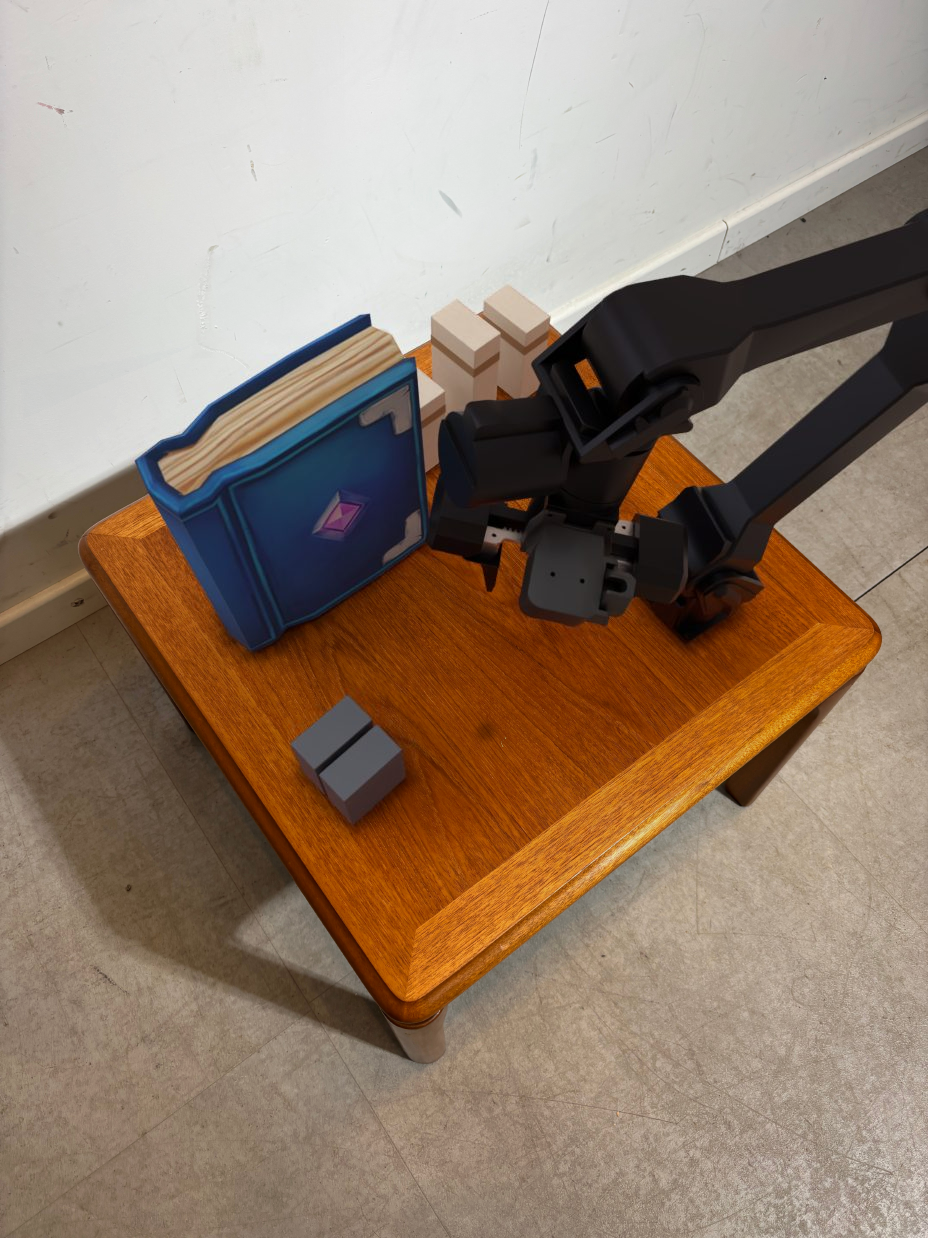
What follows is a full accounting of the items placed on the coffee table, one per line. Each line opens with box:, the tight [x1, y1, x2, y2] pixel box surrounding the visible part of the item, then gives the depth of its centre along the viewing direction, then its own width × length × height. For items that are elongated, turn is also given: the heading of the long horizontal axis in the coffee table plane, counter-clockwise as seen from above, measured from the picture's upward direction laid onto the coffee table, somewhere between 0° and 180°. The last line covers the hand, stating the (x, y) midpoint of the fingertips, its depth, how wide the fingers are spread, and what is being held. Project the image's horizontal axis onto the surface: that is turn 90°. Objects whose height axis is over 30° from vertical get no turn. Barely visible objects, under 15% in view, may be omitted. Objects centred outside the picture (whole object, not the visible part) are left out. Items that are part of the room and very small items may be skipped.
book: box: [134, 313, 430, 654], centre depth 74 cm, size 22×7×25 cm, turn 129°
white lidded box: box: [430, 298, 501, 418], centre depth 89 cm, size 6×3×12 cm, turn 44°
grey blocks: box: [289, 694, 407, 826], centre depth 73 cm, size 6×6×7 cm
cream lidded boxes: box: [404, 283, 552, 474], centre depth 90 cm, size 6×17×10 cm, turn 133°
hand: (528, 596), depth 72 cm, fingers open, 6 cm apart
